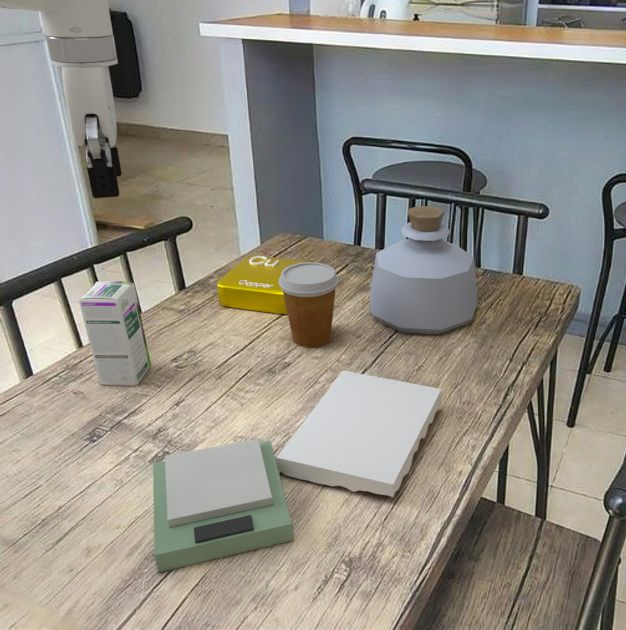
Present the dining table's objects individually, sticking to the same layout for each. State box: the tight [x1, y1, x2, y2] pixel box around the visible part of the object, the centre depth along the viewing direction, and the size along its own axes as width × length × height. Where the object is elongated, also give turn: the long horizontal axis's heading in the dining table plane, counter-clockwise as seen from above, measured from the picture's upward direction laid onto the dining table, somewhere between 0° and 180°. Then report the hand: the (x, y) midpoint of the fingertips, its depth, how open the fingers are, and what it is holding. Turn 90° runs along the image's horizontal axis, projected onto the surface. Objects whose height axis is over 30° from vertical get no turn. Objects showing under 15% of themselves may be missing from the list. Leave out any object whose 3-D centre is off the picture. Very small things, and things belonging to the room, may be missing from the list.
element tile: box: [216, 254, 309, 315], centre depth 128 cm, size 15×15×5 cm
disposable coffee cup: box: [278, 261, 339, 348], centre depth 111 cm, size 10×10×12 cm
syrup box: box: [78, 280, 152, 387], centre depth 99 cm, size 6×6×14 cm
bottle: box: [368, 205, 479, 335], centre depth 120 cm, size 20×20×19 cm
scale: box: [152, 438, 294, 573], centre depth 78 cm, size 14×15×4 cm
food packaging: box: [276, 370, 443, 498], centre depth 90 cm, size 15×3×20 cm
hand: (108, 186), depth 92 cm, fingers open, 9 cm apart
